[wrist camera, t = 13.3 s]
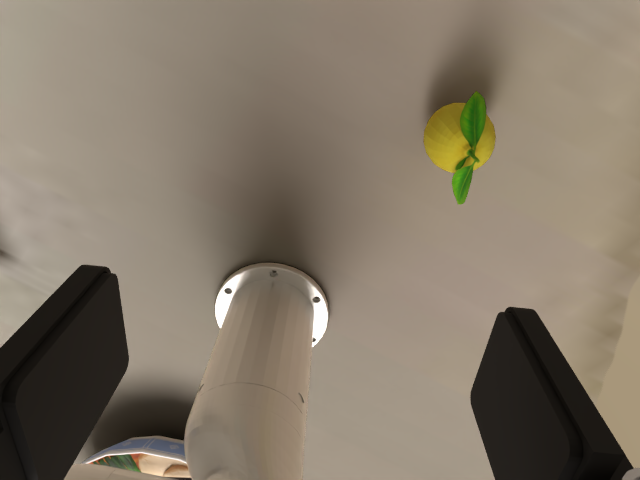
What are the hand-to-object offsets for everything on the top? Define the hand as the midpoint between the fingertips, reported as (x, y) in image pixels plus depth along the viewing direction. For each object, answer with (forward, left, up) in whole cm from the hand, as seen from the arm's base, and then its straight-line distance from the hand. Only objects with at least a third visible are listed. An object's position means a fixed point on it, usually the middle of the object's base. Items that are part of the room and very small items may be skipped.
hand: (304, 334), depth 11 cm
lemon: (-2, -11, -32) cm, 34 cm away
